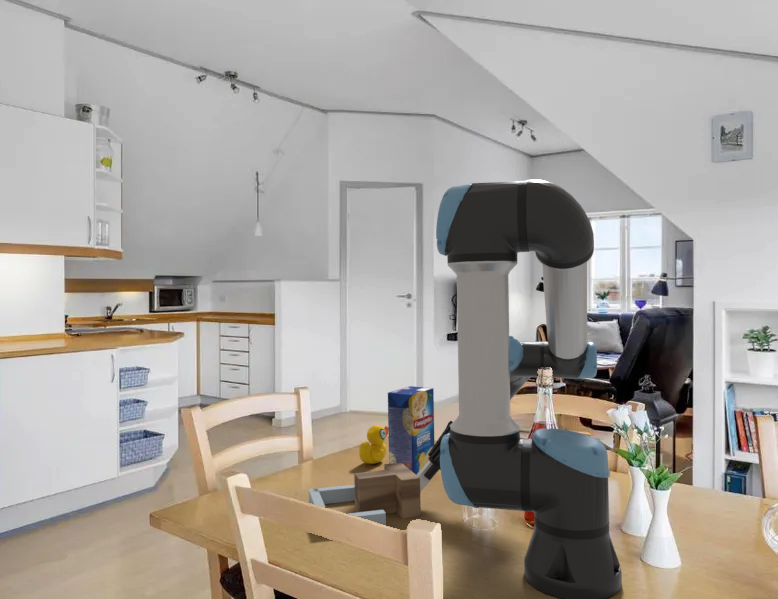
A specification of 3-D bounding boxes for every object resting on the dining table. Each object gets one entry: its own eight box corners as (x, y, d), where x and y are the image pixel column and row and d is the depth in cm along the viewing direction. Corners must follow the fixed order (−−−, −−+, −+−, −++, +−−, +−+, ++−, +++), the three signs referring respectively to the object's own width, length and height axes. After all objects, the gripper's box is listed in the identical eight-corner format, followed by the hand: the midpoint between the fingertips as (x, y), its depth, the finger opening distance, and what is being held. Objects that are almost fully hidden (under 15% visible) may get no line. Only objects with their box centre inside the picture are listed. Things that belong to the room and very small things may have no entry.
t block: (420, 516, 126) (419, 477, 125) (365, 524, 122) (364, 484, 122) (401, 497, 137) (401, 462, 137) (350, 504, 133) (349, 468, 133)
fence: (386, 528, 120) (385, 513, 120) (320, 536, 116) (320, 520, 116) (365, 496, 138) (365, 483, 138) (308, 502, 135) (308, 489, 135)
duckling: (380, 456, 171) (379, 420, 171) (395, 459, 168) (394, 423, 168) (354, 465, 162) (353, 428, 162) (369, 469, 159) (369, 431, 159)
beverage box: (435, 474, 154) (433, 388, 153) (413, 486, 144) (411, 395, 144) (411, 470, 157) (410, 386, 157) (389, 482, 148) (387, 392, 148)
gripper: (507, 422, 130) (435, 508, 127) (483, 411, 143) (418, 489, 139) (483, 400, 129) (410, 486, 125) (461, 390, 142) (395, 468, 138)
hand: (414, 487), depth 132 cm, fingers closed
